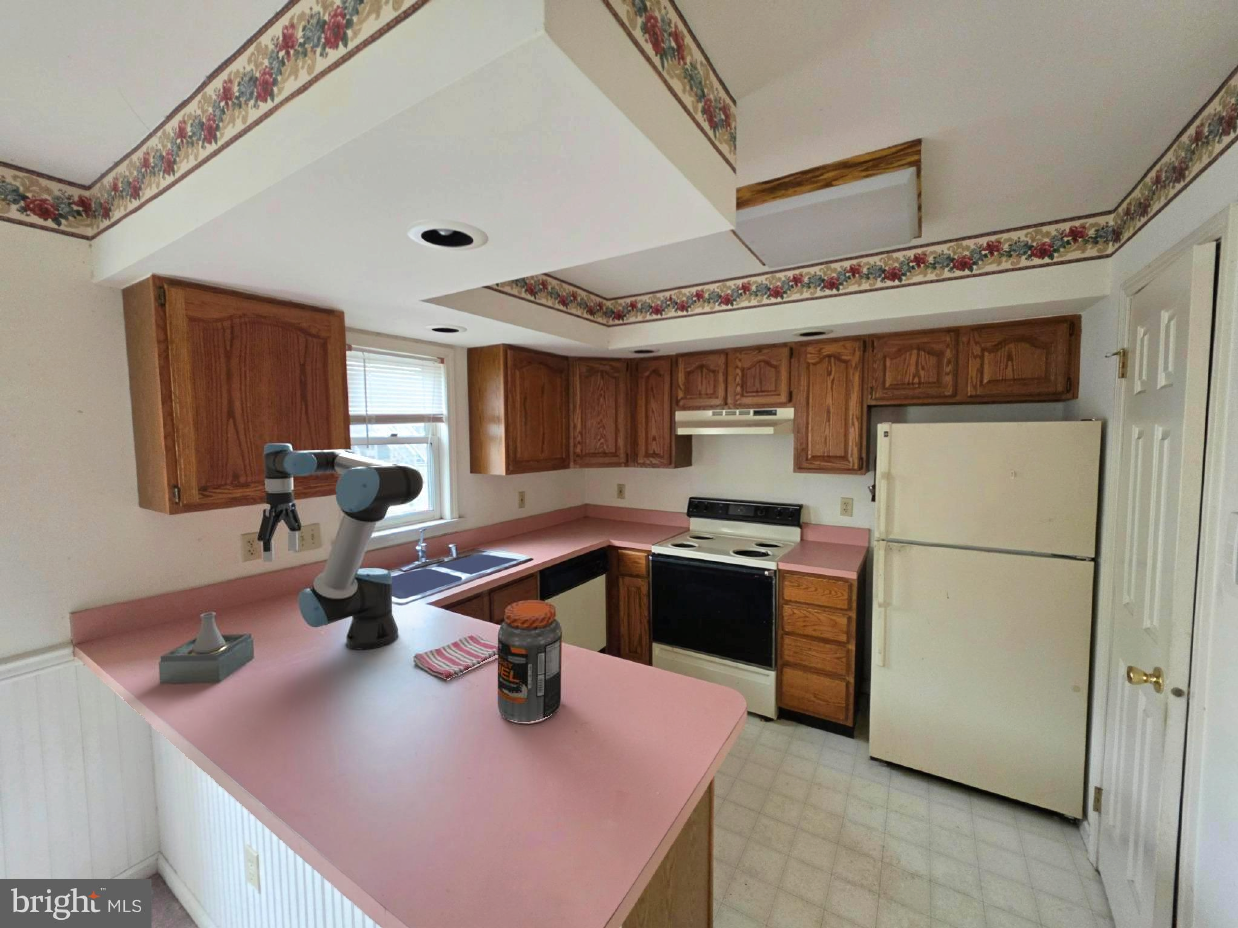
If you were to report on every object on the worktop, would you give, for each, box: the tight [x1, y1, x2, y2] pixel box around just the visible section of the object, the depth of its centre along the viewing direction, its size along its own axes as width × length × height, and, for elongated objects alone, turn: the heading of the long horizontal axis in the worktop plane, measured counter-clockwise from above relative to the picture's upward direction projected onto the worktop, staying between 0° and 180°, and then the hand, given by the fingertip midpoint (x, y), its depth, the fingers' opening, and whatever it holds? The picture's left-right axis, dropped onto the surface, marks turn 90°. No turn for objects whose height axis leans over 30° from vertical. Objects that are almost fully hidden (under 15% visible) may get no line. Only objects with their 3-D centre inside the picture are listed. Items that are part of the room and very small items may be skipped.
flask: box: [192, 611, 227, 654], centre depth 137 cm, size 7×7×10 cm
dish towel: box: [413, 634, 498, 680], centre depth 148 cm, size 17×23×4 cm
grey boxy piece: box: [158, 632, 255, 685], centre depth 137 cm, size 15×14×8 cm
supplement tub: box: [497, 599, 563, 722], centre depth 122 cm, size 16×16×26 cm
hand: (281, 555), depth 159 cm, fingers open, 13 cm apart
